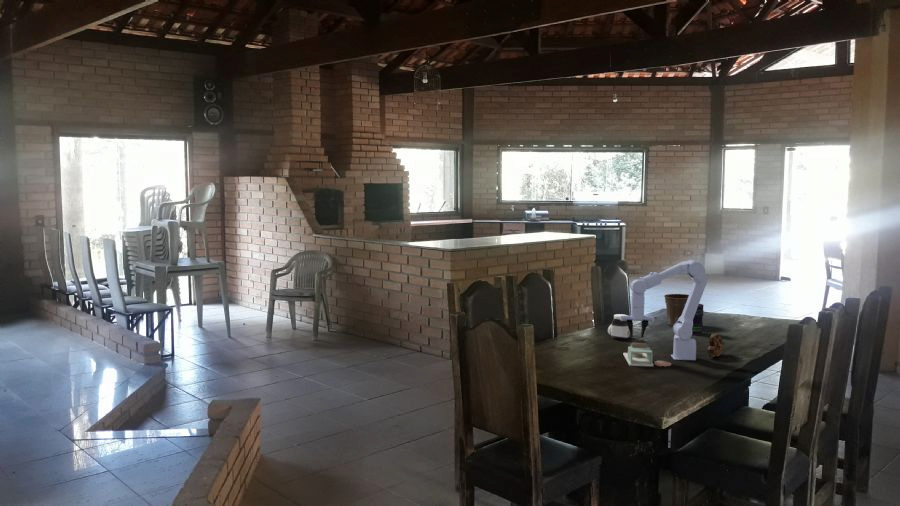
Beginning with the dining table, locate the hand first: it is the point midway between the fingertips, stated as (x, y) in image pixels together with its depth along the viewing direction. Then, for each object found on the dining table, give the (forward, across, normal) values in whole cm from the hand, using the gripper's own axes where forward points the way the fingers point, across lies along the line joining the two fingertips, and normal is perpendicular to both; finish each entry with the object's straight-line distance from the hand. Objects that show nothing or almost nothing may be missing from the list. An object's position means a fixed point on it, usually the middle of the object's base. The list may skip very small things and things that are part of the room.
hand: (636, 336), depth 326 cm
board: (+9, 0, +5) cm, 11 cm away
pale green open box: (+8, 0, +10) cm, 13 cm away
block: (+10, 0, 0) cm, 10 cm away
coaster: (+9, -10, +12) cm, 18 cm away
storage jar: (+10, -37, -56) cm, 68 cm away
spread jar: (+10, +3, -41) cm, 42 cm away
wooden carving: (+10, -36, -6) cm, 38 cm away
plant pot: (+10, -34, -76) cm, 84 cm away
